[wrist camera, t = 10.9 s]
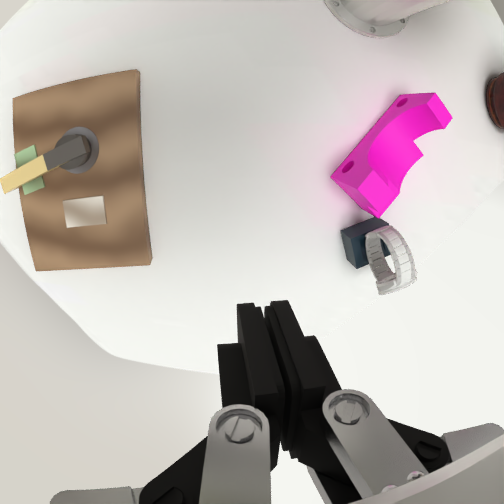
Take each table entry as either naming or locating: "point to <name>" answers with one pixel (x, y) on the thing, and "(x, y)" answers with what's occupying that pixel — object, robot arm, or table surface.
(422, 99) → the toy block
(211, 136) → the table surface
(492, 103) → the vase
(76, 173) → the wooden lever switch board
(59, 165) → the lever handle
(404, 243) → the watch
